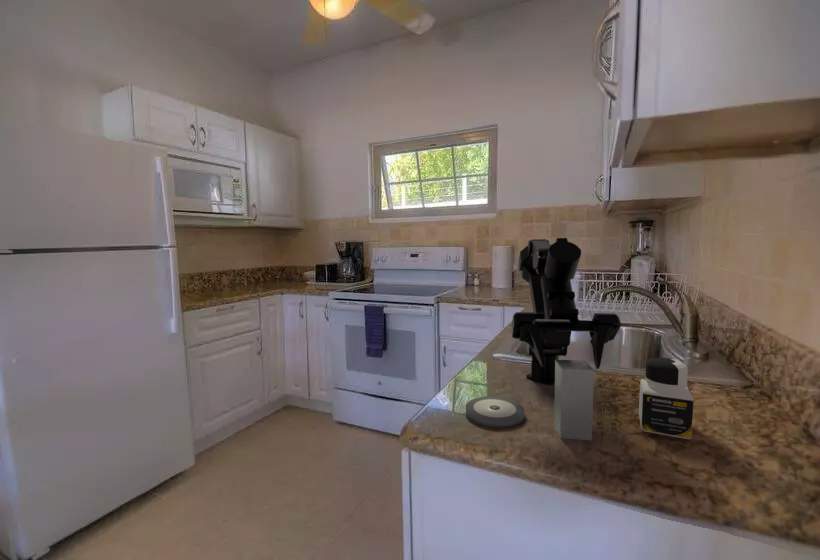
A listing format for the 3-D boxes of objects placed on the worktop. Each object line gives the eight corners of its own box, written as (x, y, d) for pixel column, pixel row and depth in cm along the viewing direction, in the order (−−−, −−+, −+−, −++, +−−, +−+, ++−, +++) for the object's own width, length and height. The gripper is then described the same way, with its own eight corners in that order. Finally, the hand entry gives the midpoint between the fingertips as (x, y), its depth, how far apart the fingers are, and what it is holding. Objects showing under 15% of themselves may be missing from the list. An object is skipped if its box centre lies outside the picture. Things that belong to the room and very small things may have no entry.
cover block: (554, 424, 69) (555, 359, 68) (583, 426, 68) (585, 360, 67) (560, 438, 64) (561, 369, 63) (591, 440, 63) (593, 370, 62)
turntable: (491, 397, 81) (491, 391, 81) (536, 415, 73) (536, 409, 72) (453, 412, 75) (453, 405, 75) (498, 434, 66) (498, 427, 66)
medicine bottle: (641, 431, 66) (644, 363, 65) (638, 414, 72) (641, 352, 71) (691, 440, 63) (695, 369, 62) (684, 422, 69) (688, 357, 68)
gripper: (597, 319, 82) (614, 388, 72) (507, 317, 85) (512, 384, 75) (611, 286, 73) (633, 360, 64) (511, 286, 77) (517, 356, 67)
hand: (570, 366), depth 68 cm, fingers open, 9 cm apart
